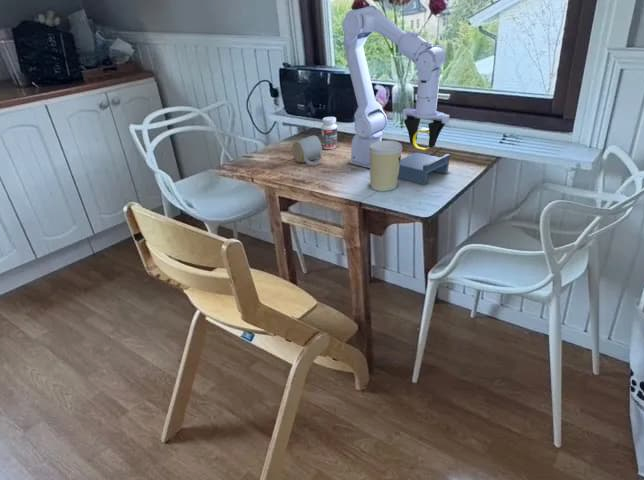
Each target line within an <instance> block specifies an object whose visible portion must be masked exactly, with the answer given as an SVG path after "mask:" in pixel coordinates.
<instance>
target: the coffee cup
mask: <svg viewBox="0 0 644 480" xmlns="http://www.w3.org/2000/svg"><path fill="white" fill-rule="evenodd" d="M369 151H370V168H369V181H370V183H369V184H370V188H371V189H373V190H374V191H379V192H380V191H381V192H385V191H392V190H394V189H396V188H397V186H398V180H399V178H398V173H399V167H400V160H401V159H402V151H403V145H402V143H401V142H399V141H395V140H382V141H378V142H375V143H373V144H371V145H370V148H369Z"/></svg>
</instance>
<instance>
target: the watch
mask: <svg viewBox="0 0 644 480" xmlns="http://www.w3.org/2000/svg"><path fill="white" fill-rule="evenodd" d="M419 133H422V134H427V135H428V136H429V127H419V129H418V131H417V132H416V133H415V134H414V136H413V144H412V145H413V146H414V148H415V149H416V150H422V151H427V150H429V149H431V148H430V147H429V145H428V146H427V147H422V146H419V145H418V143H417V140H416V135H417V136H418V134H419Z"/></svg>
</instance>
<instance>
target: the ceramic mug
mask: <svg viewBox="0 0 644 480" xmlns="http://www.w3.org/2000/svg"><path fill="white" fill-rule="evenodd" d="M291 149H292V155H293V158H294V160H295V161H296V163H297V162H298V163H301V164H302V163H306V164H307V165H309V166H312V167H315V166H318V165H320V164H321V163H322V154H323V148H322V146H321V139H319V137H318V136H317V135H314V134H313V135H309V136H307V137H305V138H302V139H298V140H296V141H295V142H294V143H293V144H292V148H291ZM318 159H319V160H318ZM313 160H317V161H313Z"/></svg>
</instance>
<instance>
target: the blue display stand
mask: <svg viewBox="0 0 644 480" xmlns="http://www.w3.org/2000/svg"><path fill="white" fill-rule="evenodd" d="M450 158H451V154H449V153H446V154H444V155H441V156H440V157H439V156H435V155H431V154H427V153H422V152H414V153H412V154H409V155H407V156H405V157H403V158H401V160H400V167H399V173H398V179H402V180H406V181H410V182H414V183H418V184H421V185H426V184H427V183H428V174H429V173H431V172H437V173H441V174H447V173H449V165H450V160H451V159H450Z"/></svg>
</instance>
